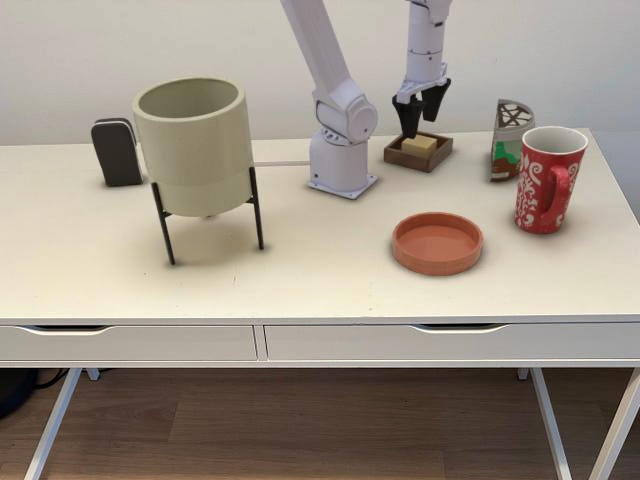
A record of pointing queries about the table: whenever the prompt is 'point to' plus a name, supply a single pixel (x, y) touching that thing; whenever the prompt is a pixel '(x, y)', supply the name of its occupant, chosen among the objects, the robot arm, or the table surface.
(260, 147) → the table surface
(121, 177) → the battery charger
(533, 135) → the mug
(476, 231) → the bowl
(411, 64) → the robot arm
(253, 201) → the planter
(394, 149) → the holder
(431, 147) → the block
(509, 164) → the food container
